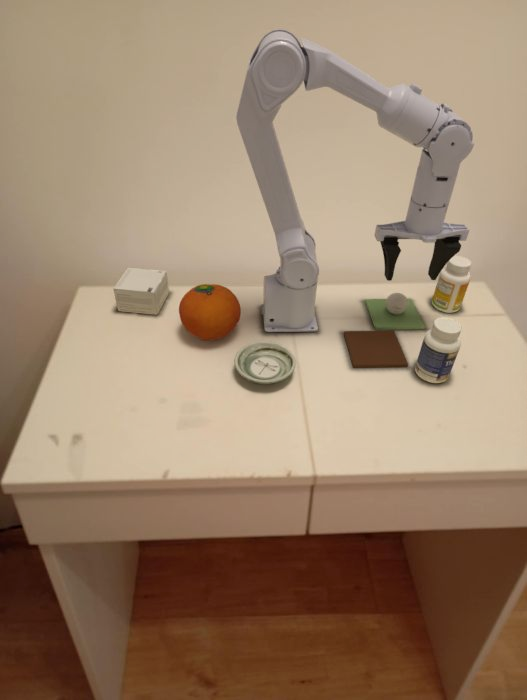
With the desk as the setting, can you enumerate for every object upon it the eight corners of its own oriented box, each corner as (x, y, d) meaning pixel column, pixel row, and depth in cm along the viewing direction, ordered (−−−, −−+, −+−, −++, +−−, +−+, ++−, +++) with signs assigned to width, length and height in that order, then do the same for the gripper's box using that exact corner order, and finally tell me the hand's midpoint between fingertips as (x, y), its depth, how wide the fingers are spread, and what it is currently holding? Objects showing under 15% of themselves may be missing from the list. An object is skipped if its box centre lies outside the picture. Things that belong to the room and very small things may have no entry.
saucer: (226, 385, 73) (226, 374, 71) (244, 347, 80) (244, 336, 78) (287, 398, 71) (288, 386, 69) (300, 358, 78) (301, 346, 77)
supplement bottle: (456, 298, 93) (471, 254, 87) (462, 314, 89) (479, 269, 83) (429, 296, 93) (442, 252, 87) (433, 312, 89) (447, 267, 83)
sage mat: (375, 329, 85) (376, 327, 84) (364, 301, 91) (365, 299, 91) (424, 329, 85) (425, 326, 85) (410, 301, 92) (411, 298, 92)
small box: (131, 289, 93) (127, 266, 90) (170, 292, 92) (167, 270, 89) (117, 311, 87) (111, 288, 84) (158, 315, 86) (154, 292, 83)
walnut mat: (353, 367, 77) (353, 365, 76) (343, 333, 84) (343, 331, 83) (407, 367, 77) (408, 364, 77) (393, 333, 84) (394, 330, 84)
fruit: (249, 341, 81) (249, 302, 76) (190, 355, 78) (186, 316, 73) (229, 308, 89) (227, 271, 84) (175, 319, 86) (170, 281, 80)
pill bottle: (443, 389, 73) (461, 340, 67) (409, 376, 75) (424, 327, 69) (452, 369, 77) (470, 321, 71) (420, 357, 79) (435, 310, 73)
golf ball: (399, 305, 90) (403, 287, 87) (409, 317, 87) (414, 298, 84) (380, 308, 89) (383, 290, 86) (389, 320, 86) (394, 302, 83)
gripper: (389, 211, 68) (373, 290, 77) (486, 211, 69) (459, 289, 78) (378, 192, 74) (364, 268, 82) (468, 192, 74) (445, 267, 83)
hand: (409, 277), depth 80 cm, fingers open, 7 cm apart
